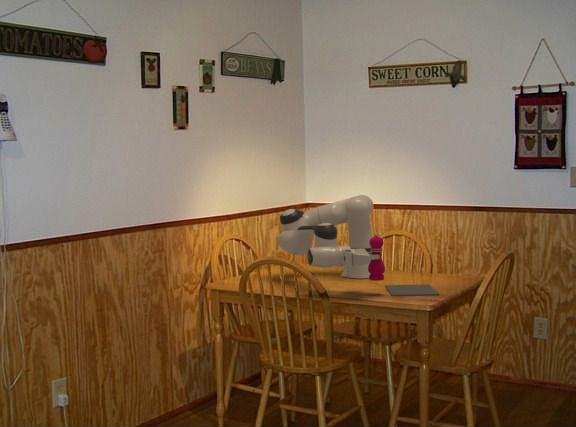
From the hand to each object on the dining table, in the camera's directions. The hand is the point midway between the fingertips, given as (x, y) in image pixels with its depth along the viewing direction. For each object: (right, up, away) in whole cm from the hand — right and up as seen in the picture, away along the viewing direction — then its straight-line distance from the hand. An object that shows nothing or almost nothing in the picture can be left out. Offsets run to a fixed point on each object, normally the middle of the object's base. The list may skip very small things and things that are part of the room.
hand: (378, 255), depth 335 cm
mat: (+15, -16, +8) cm, 23 cm away
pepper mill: (-1, -10, +1) cm, 10 cm away
